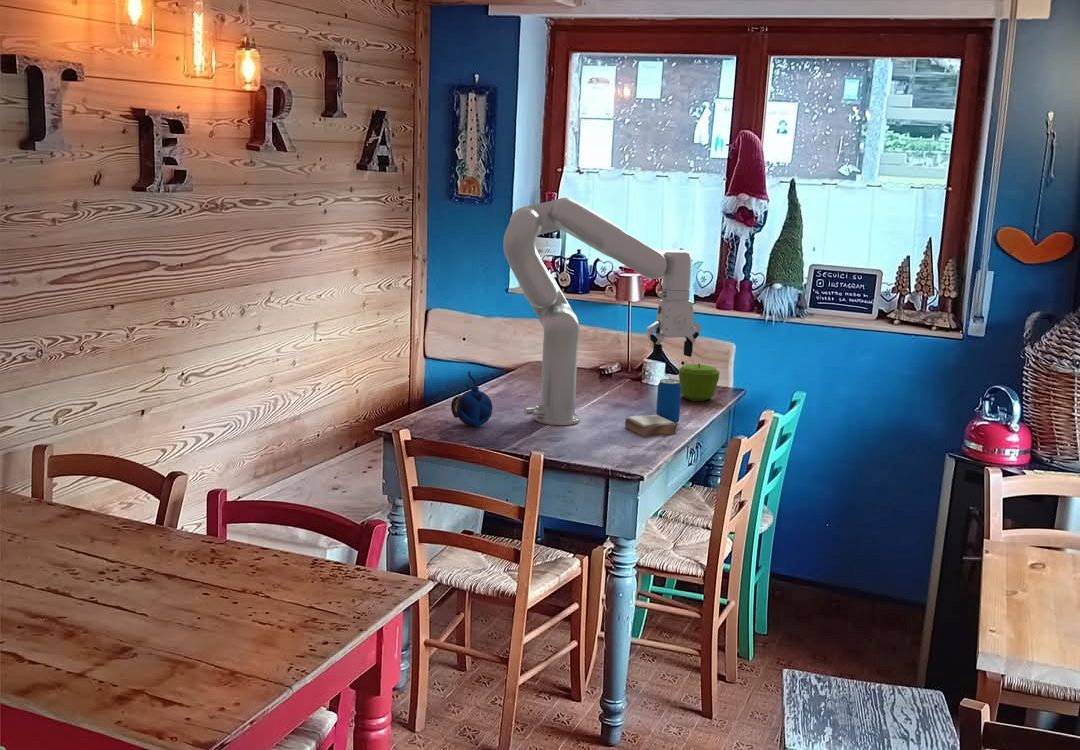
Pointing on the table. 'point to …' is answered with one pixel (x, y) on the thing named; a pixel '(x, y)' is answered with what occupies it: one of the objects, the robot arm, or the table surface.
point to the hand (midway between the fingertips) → (672, 356)
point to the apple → (698, 381)
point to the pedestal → (650, 425)
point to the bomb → (472, 406)
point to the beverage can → (669, 399)
